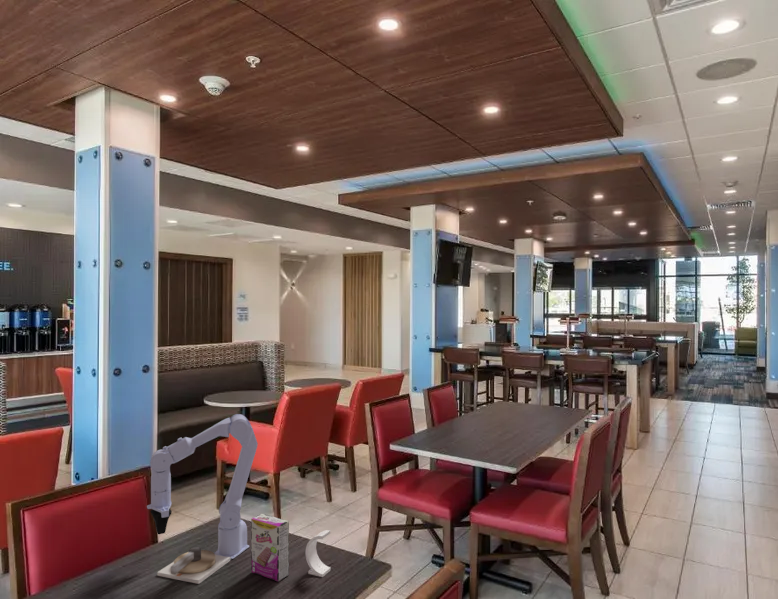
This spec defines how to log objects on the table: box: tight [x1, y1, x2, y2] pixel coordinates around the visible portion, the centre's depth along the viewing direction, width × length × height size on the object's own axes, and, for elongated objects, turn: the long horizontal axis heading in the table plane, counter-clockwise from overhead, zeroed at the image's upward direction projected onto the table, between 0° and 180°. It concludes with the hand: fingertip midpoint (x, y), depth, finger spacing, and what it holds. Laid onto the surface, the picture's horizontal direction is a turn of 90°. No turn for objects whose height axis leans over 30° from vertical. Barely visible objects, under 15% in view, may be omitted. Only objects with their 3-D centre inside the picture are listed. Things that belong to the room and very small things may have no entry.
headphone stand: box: [304, 529, 332, 578], centre depth 161 cm, size 5×6×12 cm
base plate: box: [156, 555, 231, 585], centre depth 164 cm, size 15×15×1 cm
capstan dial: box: [171, 546, 215, 574], centre depth 162 cm, size 17×12×4 cm
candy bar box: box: [250, 513, 290, 582], centre depth 160 cm, size 11×5×16 cm, turn 59°
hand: (161, 533), depth 167 cm, fingers closed
